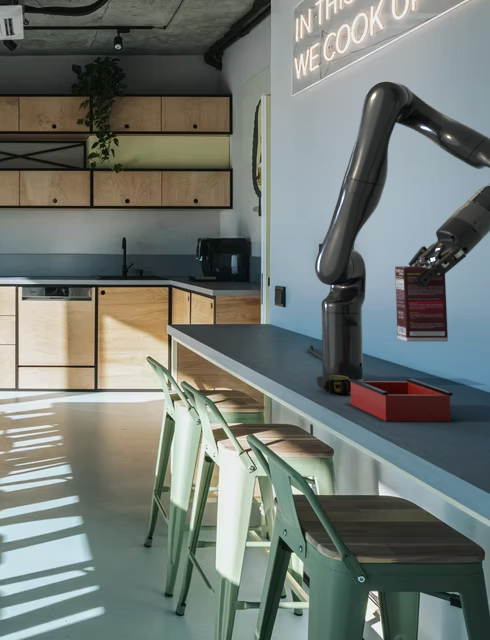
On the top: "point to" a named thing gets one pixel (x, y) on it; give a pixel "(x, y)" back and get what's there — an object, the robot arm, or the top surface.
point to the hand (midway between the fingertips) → (411, 283)
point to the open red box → (401, 400)
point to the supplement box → (420, 306)
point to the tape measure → (334, 383)
